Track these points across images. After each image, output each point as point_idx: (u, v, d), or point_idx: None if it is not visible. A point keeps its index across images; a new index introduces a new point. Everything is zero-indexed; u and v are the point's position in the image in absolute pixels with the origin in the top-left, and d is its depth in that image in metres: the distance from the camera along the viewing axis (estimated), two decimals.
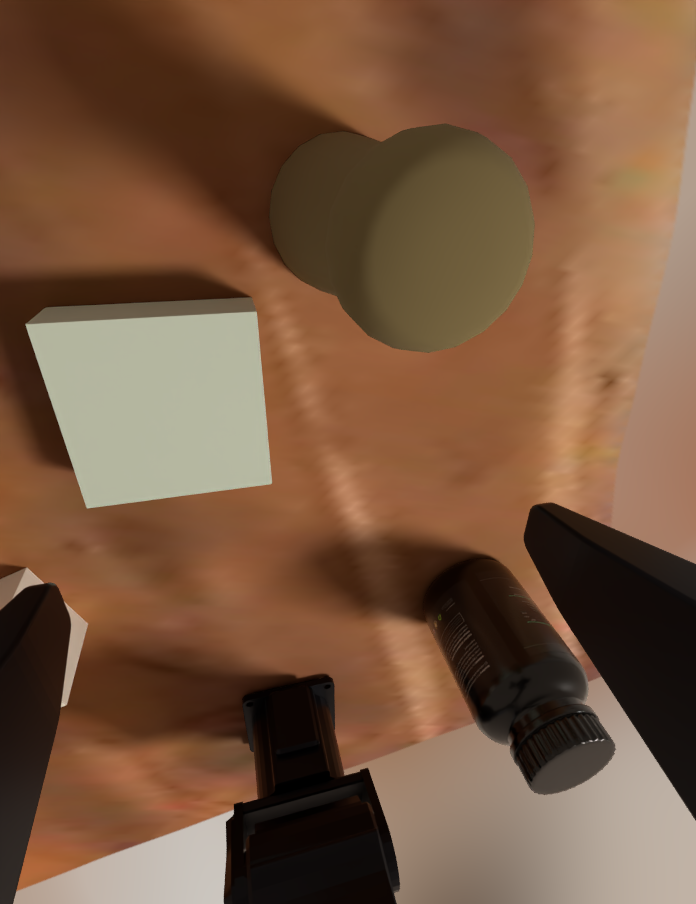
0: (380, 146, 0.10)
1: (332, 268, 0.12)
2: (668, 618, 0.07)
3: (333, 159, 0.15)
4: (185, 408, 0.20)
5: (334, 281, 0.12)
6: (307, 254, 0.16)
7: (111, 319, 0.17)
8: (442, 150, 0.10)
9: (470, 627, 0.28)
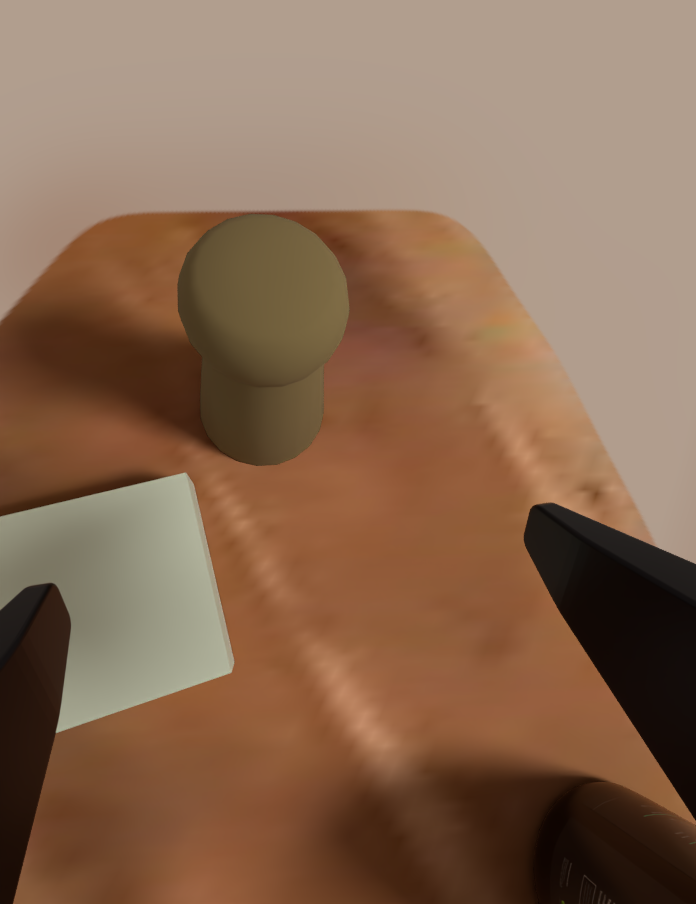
0: None
1: (183, 322, 0.14)
2: (668, 618, 0.07)
3: None
4: (120, 586, 0.18)
5: (186, 330, 0.14)
6: (209, 393, 0.19)
7: (48, 505, 0.18)
8: (234, 218, 0.14)
9: (609, 892, 0.16)
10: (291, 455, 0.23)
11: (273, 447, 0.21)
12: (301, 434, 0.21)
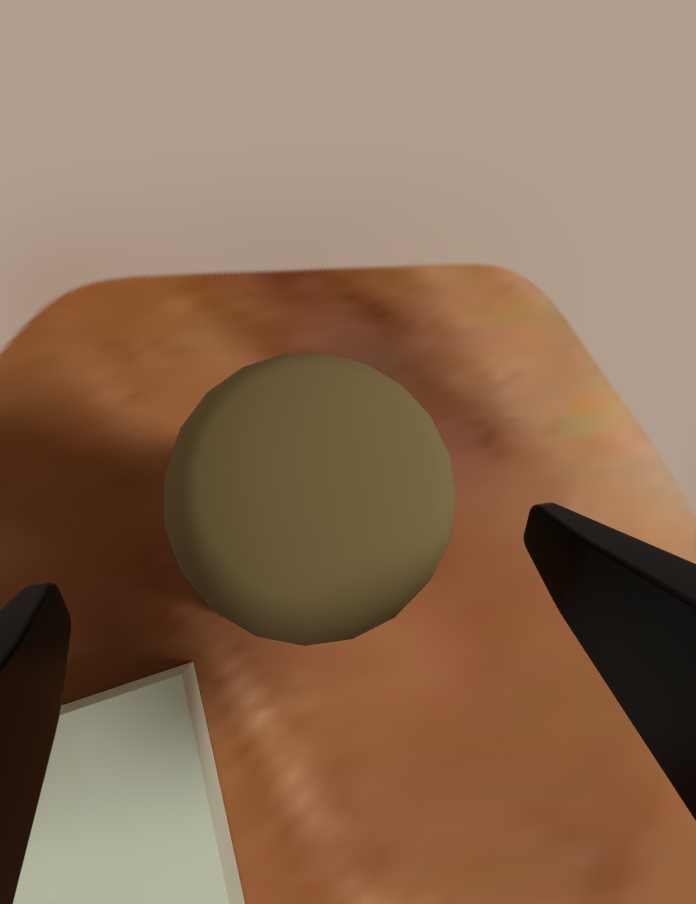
0: None
1: (173, 549, 0.08)
2: (668, 618, 0.07)
3: None
4: (82, 872, 0.12)
5: (179, 566, 0.08)
6: None
7: None
8: (263, 367, 0.08)
9: None
10: None
11: None
12: None
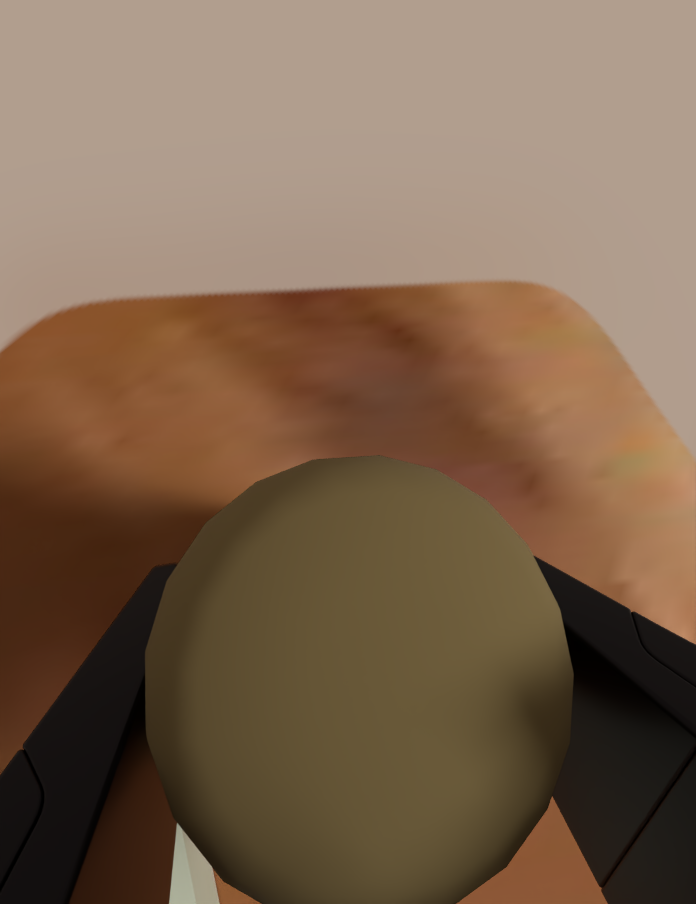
0: (207, 521, 0.06)
1: None
2: None
3: None
4: None
5: None
6: None
7: None
8: (294, 492, 0.05)
9: None
10: None
11: None
12: None
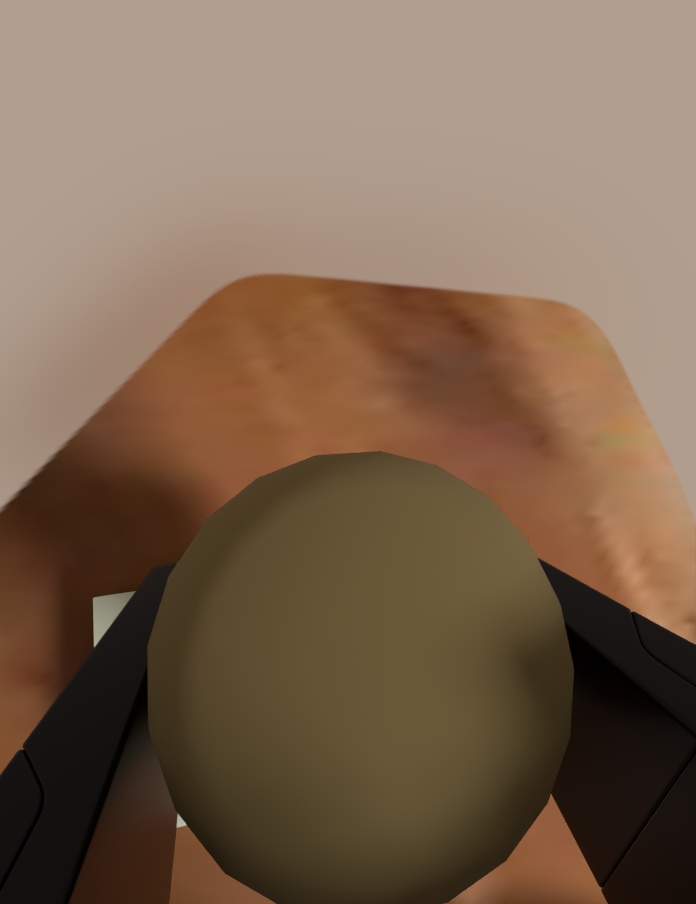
0: None
1: None
2: None
3: None
4: None
5: None
6: None
7: None
8: (295, 488, 0.05)
9: None
10: None
11: None
12: None
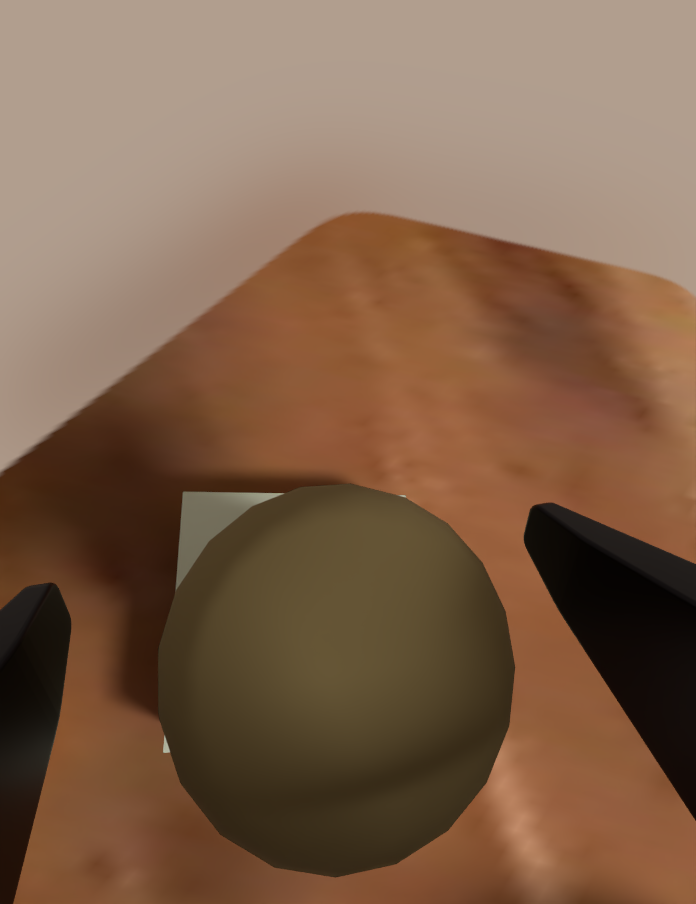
0: (210, 540, 0.07)
1: None
2: (668, 618, 0.07)
3: None
4: None
5: None
6: None
7: (265, 493, 0.17)
8: (281, 519, 0.06)
9: None
10: None
11: None
12: None
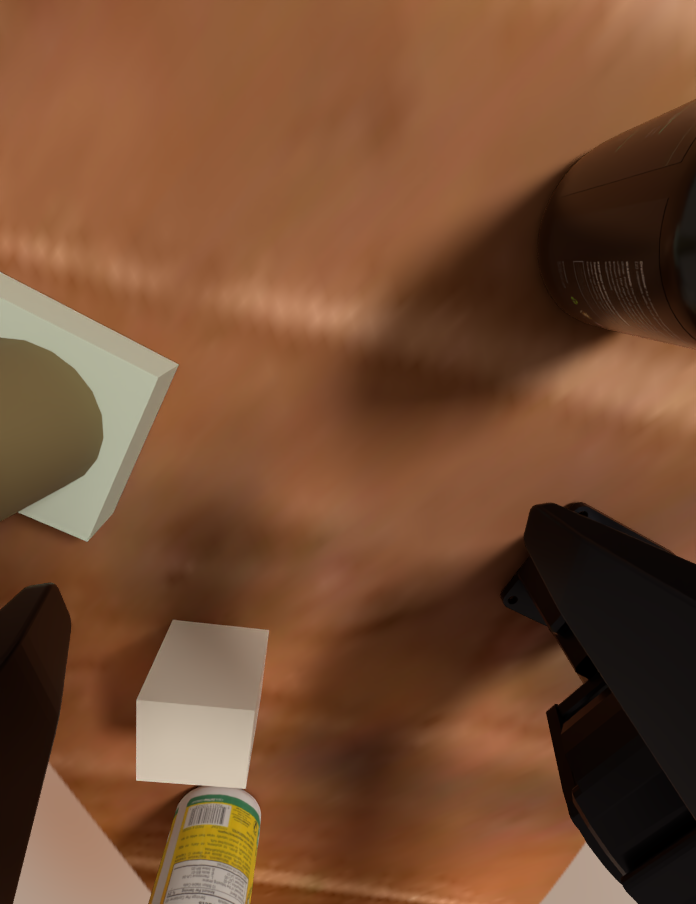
0: None
1: None
2: (668, 618, 0.07)
3: None
4: None
5: None
6: None
7: None
8: None
9: (592, 256, 0.15)
10: (94, 424, 0.18)
11: (66, 461, 0.16)
12: (57, 425, 0.16)
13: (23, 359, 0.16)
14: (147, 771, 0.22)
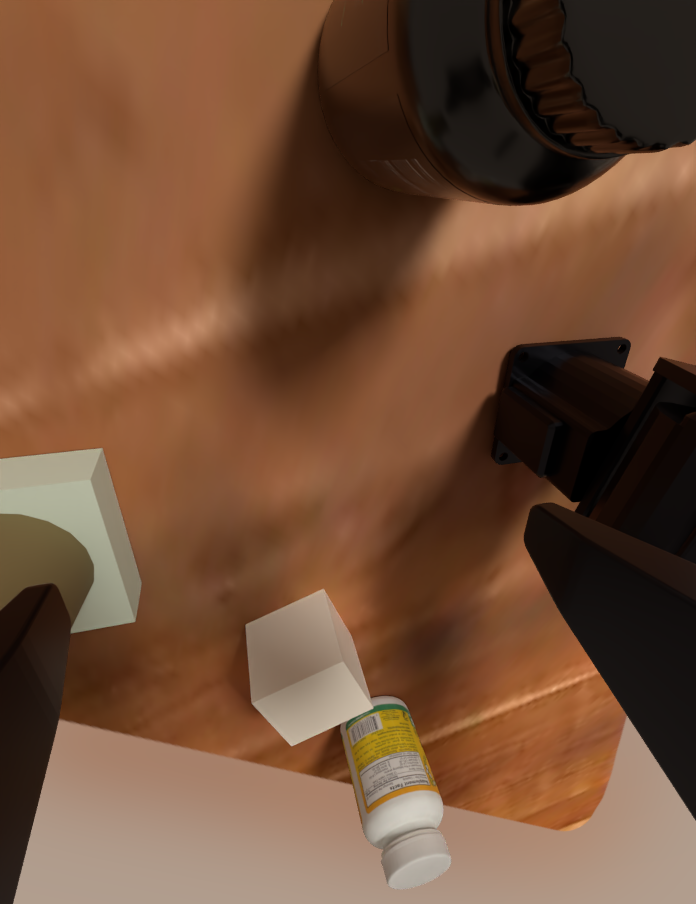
0: None
1: None
2: (668, 618, 0.07)
3: None
4: None
5: None
6: None
7: None
8: None
9: (379, 156, 0.13)
10: (69, 545, 0.19)
11: (68, 590, 0.18)
12: (39, 573, 0.17)
13: None
14: (295, 737, 0.26)
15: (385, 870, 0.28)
